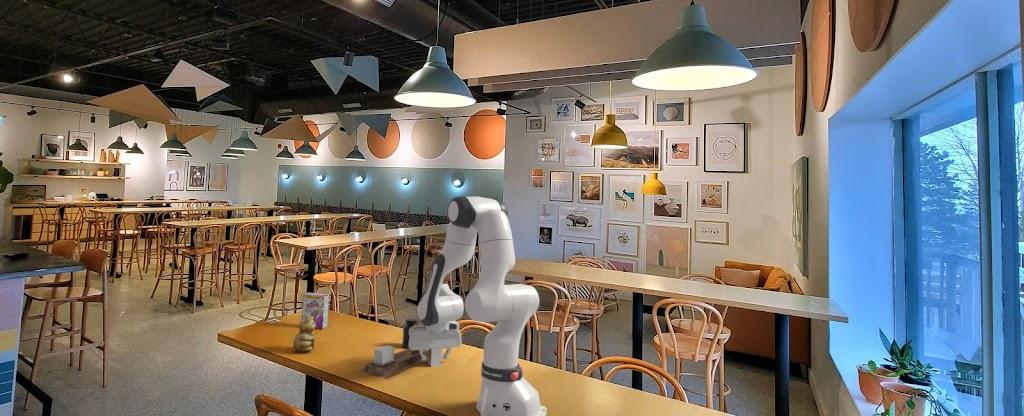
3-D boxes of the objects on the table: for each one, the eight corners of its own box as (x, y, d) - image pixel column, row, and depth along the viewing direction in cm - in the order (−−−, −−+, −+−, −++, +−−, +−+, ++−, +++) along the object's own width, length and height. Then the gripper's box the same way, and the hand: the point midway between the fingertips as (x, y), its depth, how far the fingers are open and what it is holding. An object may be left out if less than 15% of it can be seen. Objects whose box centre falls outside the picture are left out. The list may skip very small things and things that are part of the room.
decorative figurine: (315, 353, 186) (316, 317, 186) (292, 355, 183) (294, 318, 183) (314, 346, 195) (315, 311, 195) (292, 348, 192) (294, 312, 191)
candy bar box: (300, 328, 221) (302, 294, 221) (306, 325, 226) (308, 292, 226) (322, 329, 220) (323, 295, 219) (328, 327, 225) (329, 293, 224)
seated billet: (393, 368, 170) (394, 347, 170) (381, 373, 165) (382, 351, 165) (385, 366, 172) (386, 345, 172) (373, 371, 167) (374, 349, 166)
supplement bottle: (414, 349, 197) (415, 322, 197) (399, 348, 198) (400, 320, 198) (420, 345, 204) (421, 318, 203) (406, 343, 205) (407, 316, 205)
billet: (437, 363, 181) (438, 343, 181) (441, 368, 175) (441, 348, 175) (427, 364, 179) (428, 344, 179) (430, 369, 174) (431, 348, 174)
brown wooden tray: (434, 361, 184) (435, 351, 184) (387, 383, 160) (387, 371, 160) (407, 354, 191) (408, 344, 190) (358, 374, 167) (358, 363, 167)
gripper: (410, 327, 170) (408, 364, 170) (463, 324, 178) (461, 360, 178) (407, 323, 176) (406, 359, 176) (459, 320, 184) (457, 354, 184)
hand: (434, 359), depth 177 cm, fingers open, 7 cm apart
